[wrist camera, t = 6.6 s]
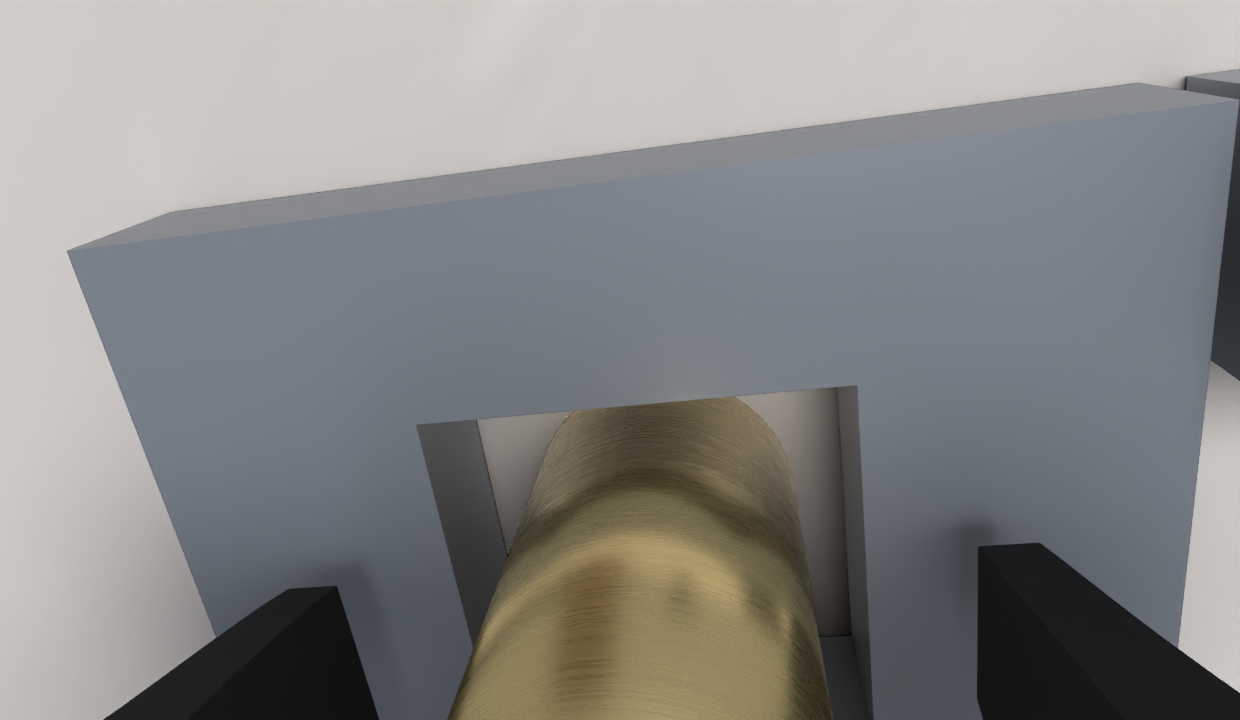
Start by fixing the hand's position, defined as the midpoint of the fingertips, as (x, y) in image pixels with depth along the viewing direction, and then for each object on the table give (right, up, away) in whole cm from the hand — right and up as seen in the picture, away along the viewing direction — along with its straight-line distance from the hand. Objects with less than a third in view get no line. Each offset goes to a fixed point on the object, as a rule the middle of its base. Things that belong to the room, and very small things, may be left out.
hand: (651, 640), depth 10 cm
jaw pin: (0, +1, +3) cm, 3 cm away
